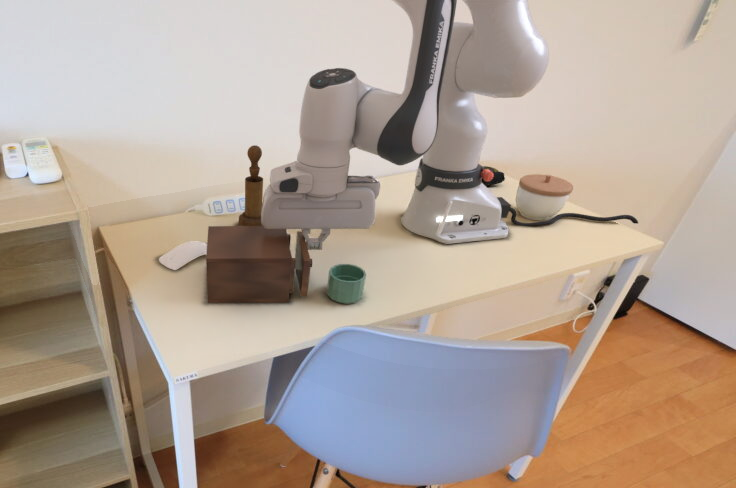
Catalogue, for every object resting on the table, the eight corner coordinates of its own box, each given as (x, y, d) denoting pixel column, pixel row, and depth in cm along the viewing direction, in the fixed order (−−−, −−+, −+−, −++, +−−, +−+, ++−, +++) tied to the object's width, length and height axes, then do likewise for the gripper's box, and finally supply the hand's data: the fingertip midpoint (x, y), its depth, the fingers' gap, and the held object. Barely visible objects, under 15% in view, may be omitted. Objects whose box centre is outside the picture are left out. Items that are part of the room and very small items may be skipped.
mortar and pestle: (268, 221, 120) (271, 141, 109) (267, 233, 115) (270, 151, 104) (239, 220, 121) (240, 141, 110) (237, 232, 116) (237, 151, 105)
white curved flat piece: (154, 259, 107) (153, 249, 105) (201, 242, 112) (201, 232, 111) (173, 272, 102) (172, 261, 101) (220, 253, 108) (220, 243, 107)
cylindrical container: (358, 286, 98) (362, 263, 95) (365, 305, 93) (369, 282, 90) (324, 286, 98) (326, 263, 95) (329, 305, 93) (332, 282, 90)
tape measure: (481, 190, 133) (485, 176, 131) (463, 181, 138) (467, 167, 136) (502, 186, 135) (507, 172, 133) (483, 177, 140) (488, 163, 138)
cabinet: (282, 267, 103) (285, 225, 98) (288, 302, 93) (291, 257, 88) (209, 268, 104) (208, 226, 98) (207, 303, 94) (206, 258, 88)
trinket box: (536, 228, 116) (552, 187, 110) (499, 210, 123) (512, 171, 118) (570, 219, 119) (588, 179, 113) (532, 202, 127) (546, 164, 121)
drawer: (306, 265, 102) (309, 231, 98) (313, 296, 93) (317, 260, 89) (232, 265, 102) (232, 231, 98) (232, 297, 93) (232, 261, 89)
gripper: (377, 169, 91) (365, 240, 100) (261, 170, 92) (259, 241, 100) (386, 182, 86) (372, 256, 95) (263, 183, 87) (260, 256, 95)
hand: (313, 248), depth 97 cm, fingers closed
